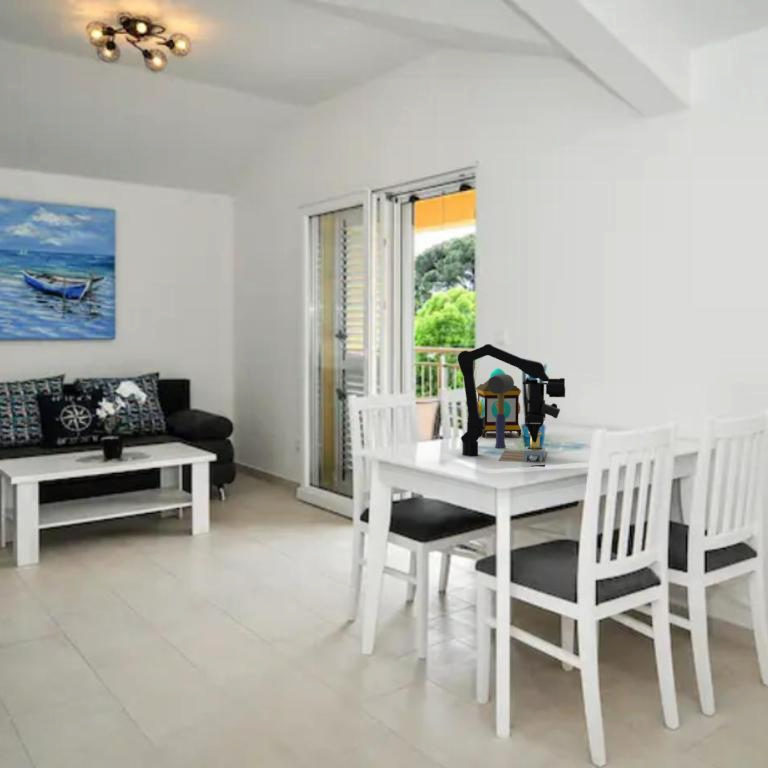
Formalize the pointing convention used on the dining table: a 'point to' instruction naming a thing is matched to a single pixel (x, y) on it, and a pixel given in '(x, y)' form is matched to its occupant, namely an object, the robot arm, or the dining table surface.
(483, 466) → the dining table surface
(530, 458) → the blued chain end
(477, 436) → the robot arm
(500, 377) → the rubber mallet
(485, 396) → the decorative lantern
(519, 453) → the board
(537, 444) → the pin
